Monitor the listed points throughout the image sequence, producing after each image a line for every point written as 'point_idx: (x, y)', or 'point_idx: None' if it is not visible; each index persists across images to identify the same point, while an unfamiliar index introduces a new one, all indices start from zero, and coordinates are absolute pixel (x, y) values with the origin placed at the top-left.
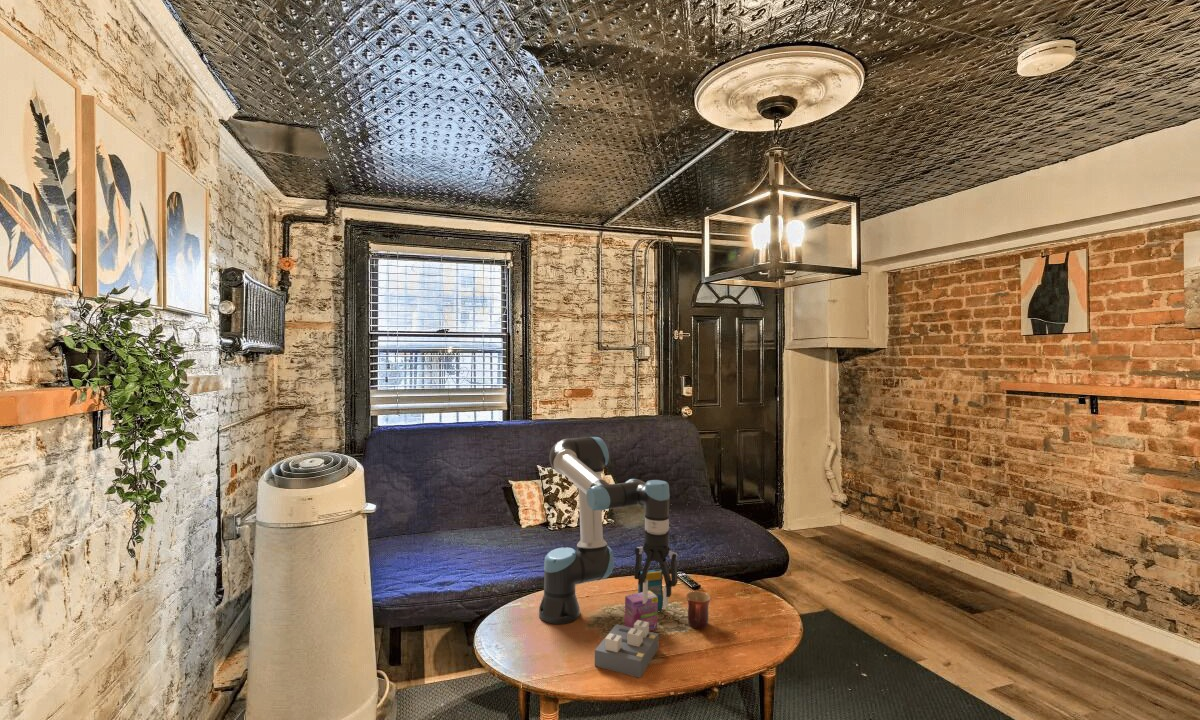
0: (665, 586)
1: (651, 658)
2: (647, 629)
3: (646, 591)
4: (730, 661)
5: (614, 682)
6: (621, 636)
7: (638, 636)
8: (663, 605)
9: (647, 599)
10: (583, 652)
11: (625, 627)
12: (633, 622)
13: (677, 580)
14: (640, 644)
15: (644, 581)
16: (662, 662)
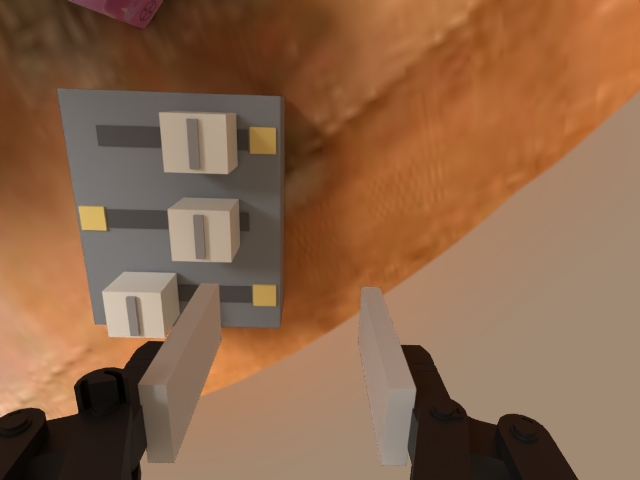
0: (396, 447)
1: (284, 186)
2: (231, 135)
3: (199, 356)
4: (577, 71)
5: (219, 347)
6: (161, 295)
7: (228, 261)
8: (360, 351)
9: (216, 289)
10: (40, 238)
11: (113, 103)
12: (120, 16)
13: (556, 445)
14: (239, 228)
15: (145, 426)
16: (327, 186)
